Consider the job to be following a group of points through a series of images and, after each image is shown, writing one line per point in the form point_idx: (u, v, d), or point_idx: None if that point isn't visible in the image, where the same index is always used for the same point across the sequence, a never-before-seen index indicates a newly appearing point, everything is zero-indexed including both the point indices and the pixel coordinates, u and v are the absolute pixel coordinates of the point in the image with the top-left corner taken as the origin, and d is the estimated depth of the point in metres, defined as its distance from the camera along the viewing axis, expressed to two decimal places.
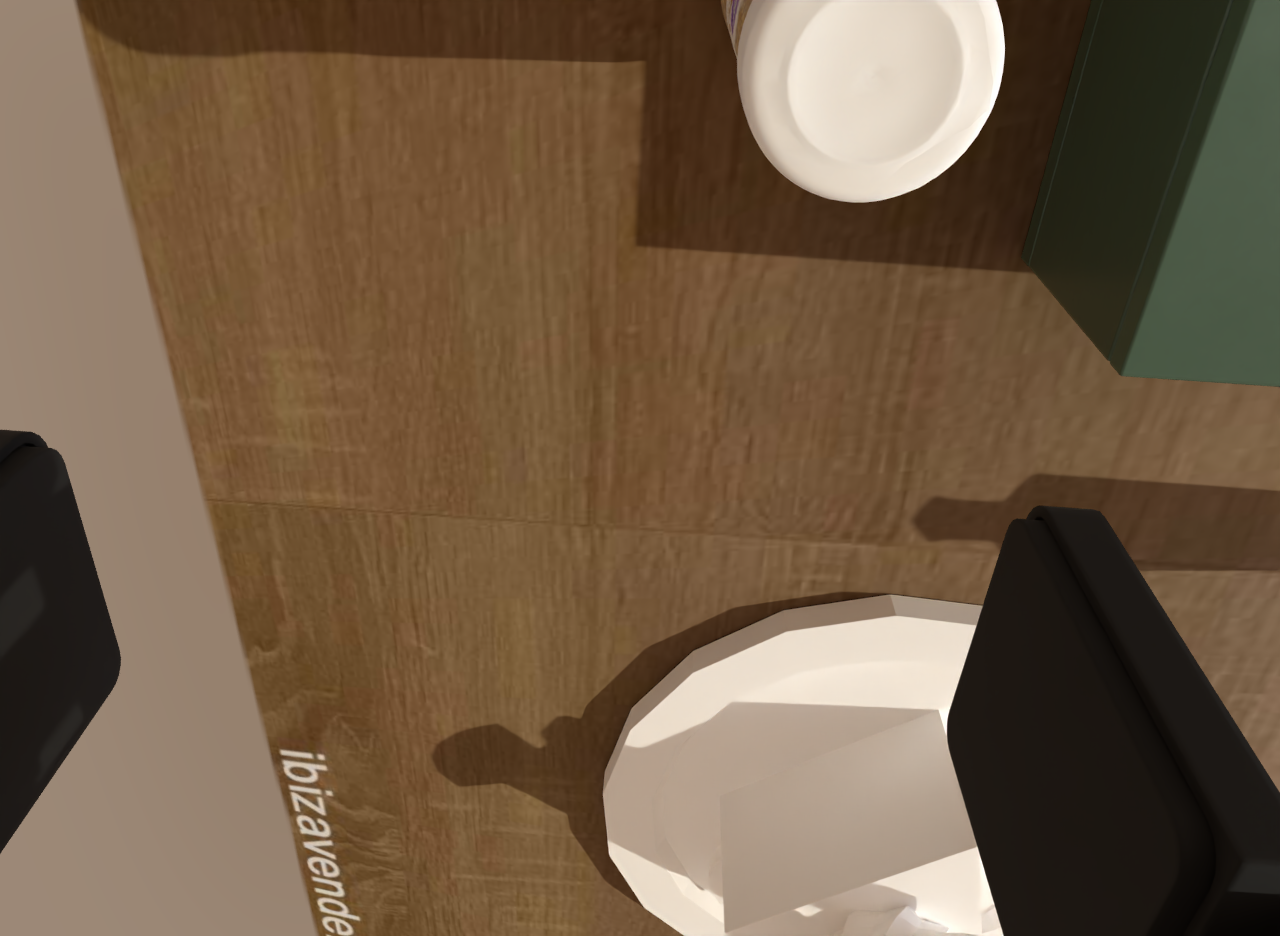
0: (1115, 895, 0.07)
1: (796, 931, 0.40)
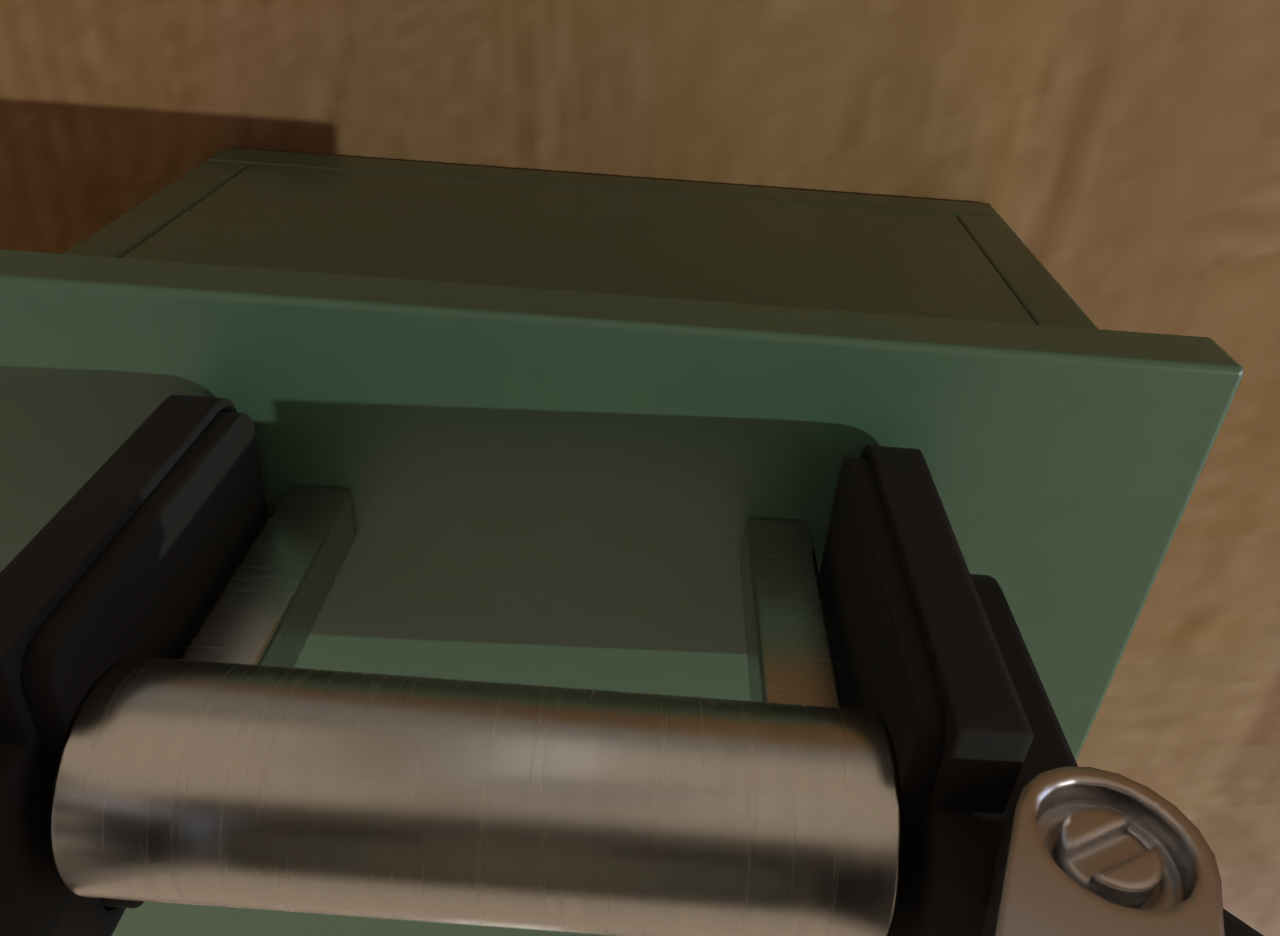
0: None
1: None
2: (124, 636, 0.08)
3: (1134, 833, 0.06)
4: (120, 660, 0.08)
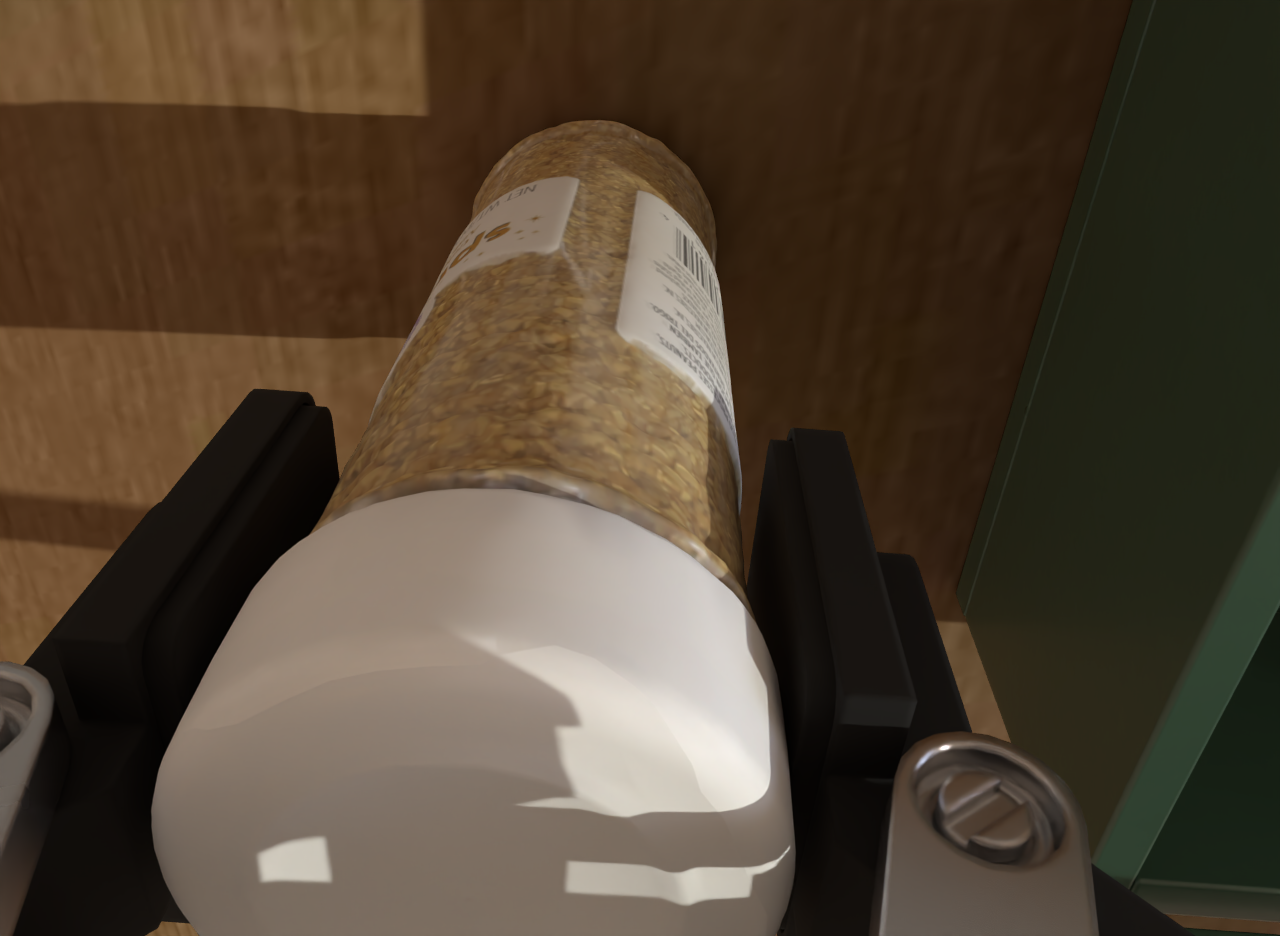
0: None
1: None
2: (229, 623, 0.08)
3: (1006, 791, 0.07)
4: None
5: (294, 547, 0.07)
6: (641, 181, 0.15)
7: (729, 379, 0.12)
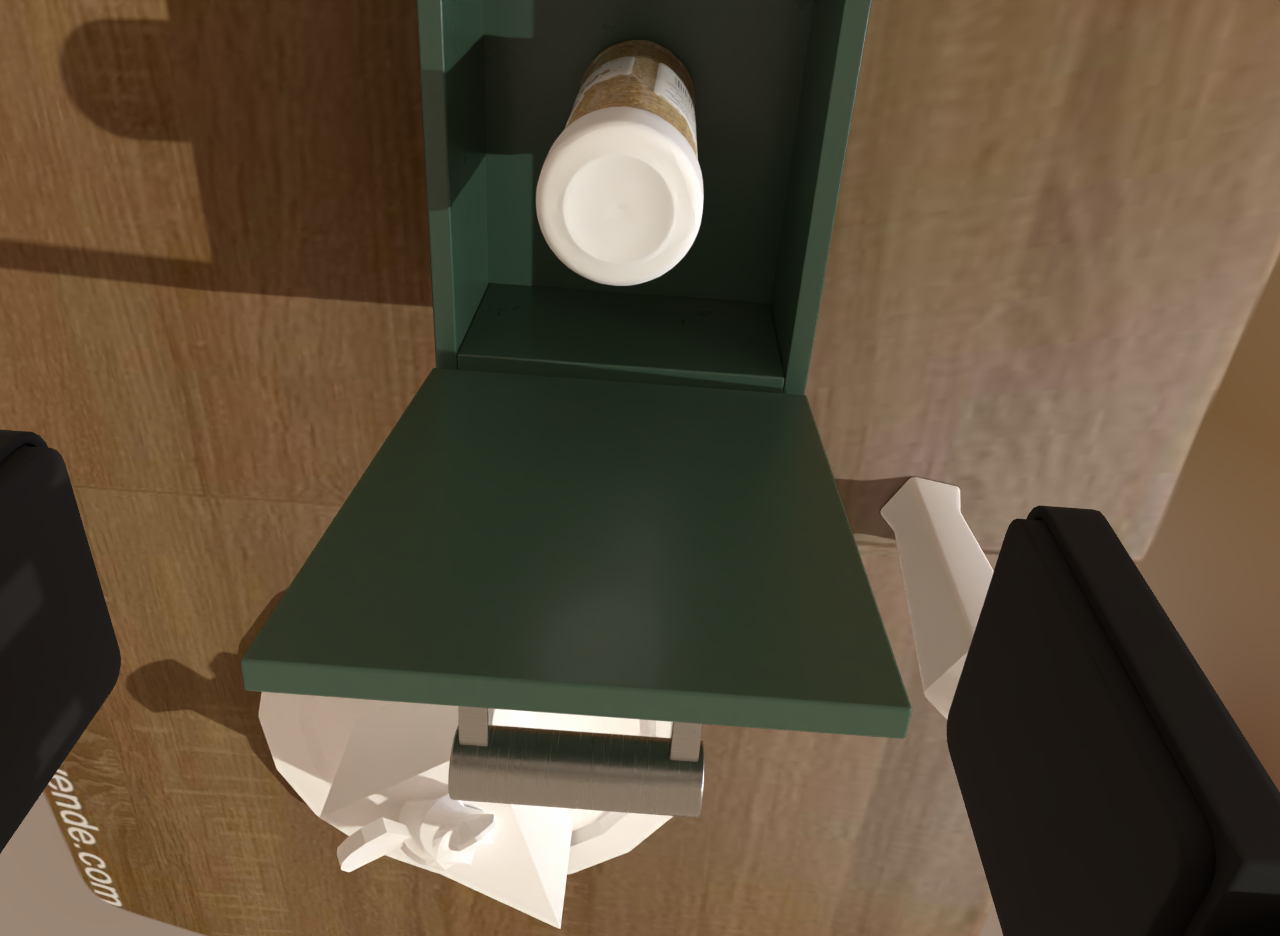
0: (1115, 895, 0.07)
1: (375, 816, 0.50)
2: None
3: None
4: None
5: (569, 125, 0.27)
6: (660, 61, 0.34)
7: (695, 128, 0.32)
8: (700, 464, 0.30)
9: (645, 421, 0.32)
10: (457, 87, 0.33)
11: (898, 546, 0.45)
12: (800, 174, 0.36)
